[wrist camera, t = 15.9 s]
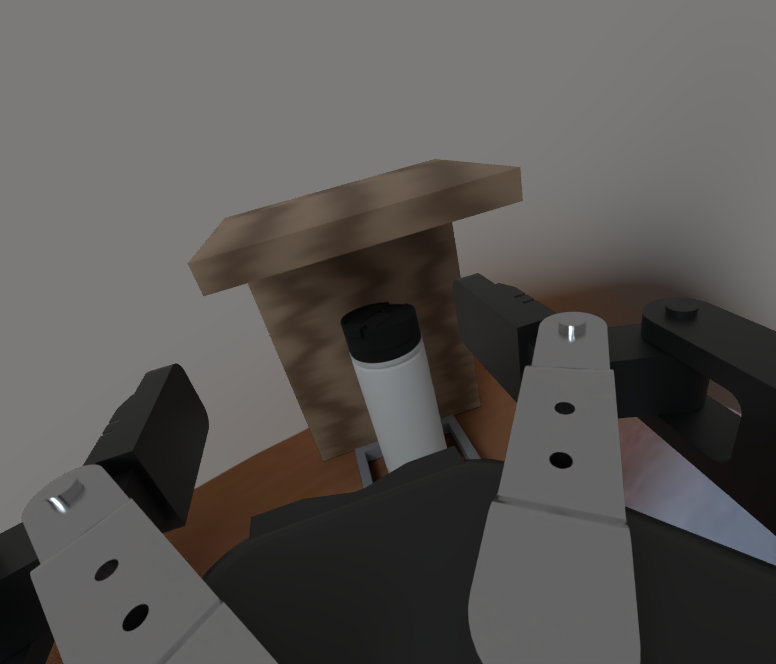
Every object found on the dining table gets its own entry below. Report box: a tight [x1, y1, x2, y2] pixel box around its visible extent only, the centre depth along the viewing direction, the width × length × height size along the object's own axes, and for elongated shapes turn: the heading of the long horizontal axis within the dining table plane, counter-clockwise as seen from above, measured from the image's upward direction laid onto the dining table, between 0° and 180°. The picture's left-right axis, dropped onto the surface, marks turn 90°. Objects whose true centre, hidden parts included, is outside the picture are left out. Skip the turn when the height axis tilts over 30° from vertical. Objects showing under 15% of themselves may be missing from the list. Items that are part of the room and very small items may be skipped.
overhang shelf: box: [188, 159, 523, 461], centre depth 36 cm, size 20×16×28 cm
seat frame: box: [355, 415, 481, 488], centre depth 41 cm, size 12×12×2 cm
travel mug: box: [340, 302, 447, 473], centre depth 37 cm, size 6×7×20 cm
